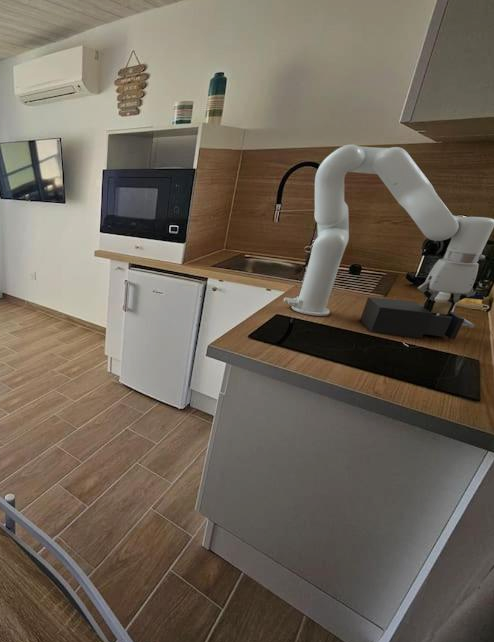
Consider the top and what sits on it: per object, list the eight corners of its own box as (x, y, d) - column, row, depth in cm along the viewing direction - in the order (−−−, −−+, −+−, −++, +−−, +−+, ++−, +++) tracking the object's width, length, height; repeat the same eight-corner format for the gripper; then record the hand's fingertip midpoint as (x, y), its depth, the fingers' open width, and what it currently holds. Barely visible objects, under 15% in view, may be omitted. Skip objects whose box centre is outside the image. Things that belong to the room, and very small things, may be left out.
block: (431, 312, 123) (436, 301, 122) (425, 309, 127) (430, 297, 125) (446, 314, 122) (452, 303, 120) (440, 310, 125) (445, 299, 124)
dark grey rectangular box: (406, 325, 134) (416, 302, 130) (421, 338, 124) (433, 313, 120) (359, 320, 139) (368, 297, 135) (371, 331, 129) (380, 307, 125)
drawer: (454, 329, 128) (463, 310, 125) (472, 342, 119) (483, 321, 116) (392, 322, 134) (400, 303, 132) (405, 333, 125) (414, 313, 122)
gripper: (489, 257, 117) (463, 311, 124) (421, 252, 123) (399, 304, 131) (504, 262, 111) (476, 319, 118) (432, 257, 117) (409, 311, 124)
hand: (436, 310), depth 124 cm, fingers closed on block, 3 cm apart
